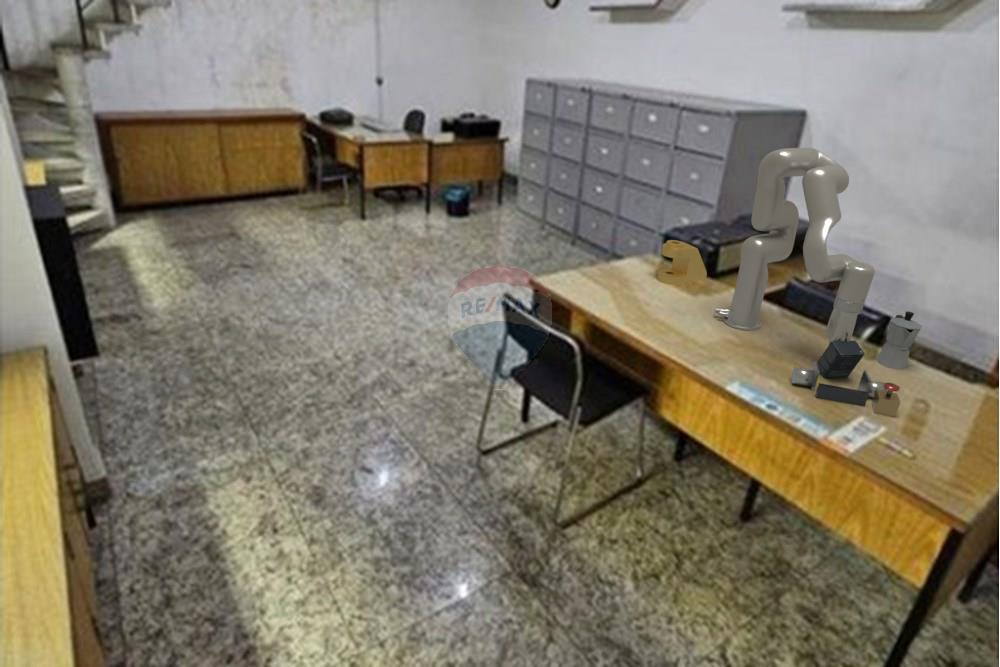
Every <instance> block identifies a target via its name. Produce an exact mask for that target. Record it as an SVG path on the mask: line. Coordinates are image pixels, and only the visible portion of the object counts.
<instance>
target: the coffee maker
mask: <svg viewBox="0 0 1000 667" xmlns="http://www.w3.org/2000/svg"><path fill="white" fill-rule="evenodd" d="M914 315H915V313H914V312H912V311H905V313H904V316H903V315H901V314H897V315H895V317H892V318H891V319H890V320H889V323H888V324H889V325H888V330H887V334H886V339H885V340H886V342H885V343H884V344H883V346H882V348H881V349H880V351H879V353H878V354H877V356H876V358H875V359H876V361H877V364H880V365H881V366H883V367H886V368H888V369H894V370H899V371H902V370H904V369H907V368H908V362H909V356H910V348H911V347H912V346H913V343H914V342H915V339H916V338H917V336H918V334H919V333H920V330H921V329H922V327H923V325H921V324H919V323H918V322H917V321H915V320H912V318H913V317H914Z"/></svg>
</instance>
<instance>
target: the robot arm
mask: <svg viewBox="0 0 1000 667" xmlns="http://www.w3.org/2000/svg"><path fill="white" fill-rule="evenodd" d="M786 177H787V178H788V177H789V178H790V177H802V180H801V181H802V182H801V183H802V184H801V185H802V190H803V196H804V201H805V205H806V211H807V216H808V220H809V226H808V228H807V231H806V232H805V235H804V236H805V237H804V239H803V240H804V241H803V245H802V254H803V260H804V265H805V269H806V272H807V275H808V276H809V278H811V279H812V281H814V282H817V283H828V282H834V281H840V284H839V287H838V290H837V293H836V297H835V300H834V302H833V306H832V307H833V309H832V311H831V314H830V316H829V320H828V322H827V325H826V328H825V333H826V336H827V338H828V340H829V342H828V346H829V345H830V343H831V342H832V341H847V342H850V341H852V340H851V339H852V336H853V334H854V330H855V326H856V323H857V318H858V315H861V314H862V311H863V309H864V306H865V304H866V300H867V297H868V294H869V291H870V288H871V285H872V282H873V279H874V276H875V273H876V270H875V267H874V266H872V265H870V264H868V263H864V262H860V261H858V259H857V260H856V259H855V258H853V257H851V256H849V255H847V254H845V253H844V254H843V253H838V254H837V253H836V254H829V255H828V248H827V239H828V235H829V234H830V232H831V230H832V229H833V228H834V227H835V226H836V225H837V223H839V222H840V221H841V219H842V211H841V208H840V202H839V197H838V195H839V194H842V193H844V191H846V190H847V188H848V186H849V184H850V176H849V173H848V171H847V170H846V169H845V167H844V166H842V164H840V163H838V162H837V161H835V160H834V159H832V158H830V156H828V155H826V154H825V153H823V152H822V151H820V150H819V149H816V148H814V147H789V148H788V147H787V148H786V147H785V148H780V149H776V150H773V151H771V152H769V153H768V154H766V155H765V156H764V157H763V159H762V160H761V162H760V164H759V166H758V174H757V187H756V191H755V197H754V201H753V208H752V212H751V214H752V215H751V221H750V222H751V224H752V227H753V229H755V230H756V231H759V232H769V233H763V234H756V235H752V236H749V237H748V238H746V239H745V240H744V241H743V243H742V244H741V248H740V260H739V261H740V263H739V269H738V274H737V278H736V283H735V288H734V291H733V294H732V295H733V296H732V300H731V304H730V305H729V306H728V308H721V307H718V306H717V307H715V311H714V314H715V313H716V314H718V316H722V321H723V323H725V324H726V325H727V326H729V327H731V328H734V329H737V330H741V331H749V332H750V331H751V332H752V331H758V330H759V329H761V327H762V322H761V321H760V320H759V315H760V312H761V308H762V304H763V302H764V301H763V300H764V297H765V292H766V288H767V285H768V281H769V271H768V270H769V269H768V264H769V263H775V262H776V263H777V262H781V261H784V260H786V259H787V258H789V256H790V255H791V253H792V252H793V248H794V245H795V240H796V234H797V230H798V226H799V221H800V220H799V219H800V214H799V209H798V207H797V205H796V204H795V202H793V201H791V200H787V199H784V198H785V193H786V183H785V180H784V178H786Z"/></svg>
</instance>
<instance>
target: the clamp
mask: <svg viewBox="0 0 1000 667" xmlns="http://www.w3.org/2000/svg"><path fill="white" fill-rule="evenodd" d="M661 247H662V248H661V255H662V256H664V257H667V258H670V259H672V263H671V267H668V268H660V269H659V270H658V271H657V276H656V280H657V281H658V282H660V283H662V284H667V285H679V284H685V283H692V282H698V281H704V280H706V279H707V275H708V273H707V272H708V271H707V269H706V267H705V264H704V261H703V259H702V256H701V254H700V251H699V248H697V247H695V246H693V245H691V244H689V243H687V242H684V241H680V240H677V239H676V240H675V239H669V240H666V242H665V243H663V244H662V246H661Z"/></svg>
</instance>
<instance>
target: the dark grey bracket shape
mask: <svg viewBox="0 0 1000 667" xmlns="http://www.w3.org/2000/svg"><path fill="white" fill-rule="evenodd" d="M817 362H818V361H813V364H812V367H811V369H809V368H802V367H797V366H794V367H793V369H792V371H791V377H790V383H791V384H792V385H798V386H799V385H800V386H804V387H809V388H810V390H811V392H814V391H815V388H816V385H817V382H818V379H819V375H820V374H821V373H820V371H819V368H818V365H817ZM885 383H886V382H883V381H882V382H880V381H875V380H872V379H871V376H870V375H869V373H868V371H867V370H865V369H864V370H863V372H862V375H861V377H860V380H859V383H858V386H857V389H854V388H847V387H841V386H836V385H831V384H825V383H821V382H819V383H818V385H817V388H816V392H815V394H814V395H815V396H814V397H815V398H816V399H821V400H827V401H831V402H832V401H833V402H837V403H842V404H843V403H844V404H849V405H854V406H855V405H856V406H860V407H861V406H862V407H866V404H867V401H868V398H870V399H873V398H874V395H875V392H876V390H882V391H888V389H886V388H885V387H884V384H885Z"/></svg>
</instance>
